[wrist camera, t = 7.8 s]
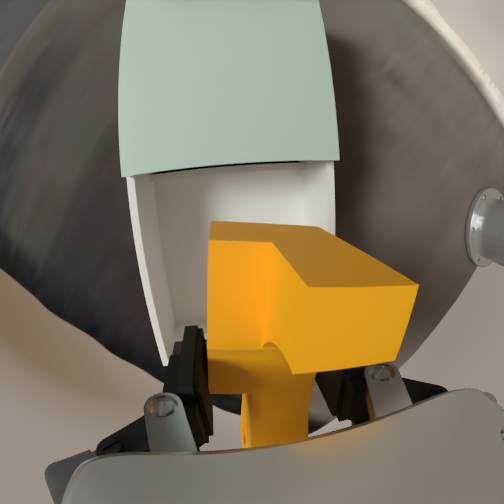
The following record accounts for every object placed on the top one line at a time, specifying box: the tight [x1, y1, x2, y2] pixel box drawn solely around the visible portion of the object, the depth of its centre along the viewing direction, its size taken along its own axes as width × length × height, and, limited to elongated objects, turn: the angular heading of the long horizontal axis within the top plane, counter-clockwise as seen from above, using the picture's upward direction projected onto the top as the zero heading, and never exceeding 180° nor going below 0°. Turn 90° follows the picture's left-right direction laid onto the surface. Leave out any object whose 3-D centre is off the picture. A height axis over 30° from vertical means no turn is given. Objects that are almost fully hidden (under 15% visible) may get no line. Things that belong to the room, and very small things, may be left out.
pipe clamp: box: [207, 221, 419, 448], centre depth 9 cm, size 12×4×6 cm, turn 176°
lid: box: [118, 0, 340, 177], centre depth 15 cm, size 15×16×3 cm
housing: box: [127, 160, 335, 366], centre depth 22 cm, size 15×32×7 cm, turn 4°
